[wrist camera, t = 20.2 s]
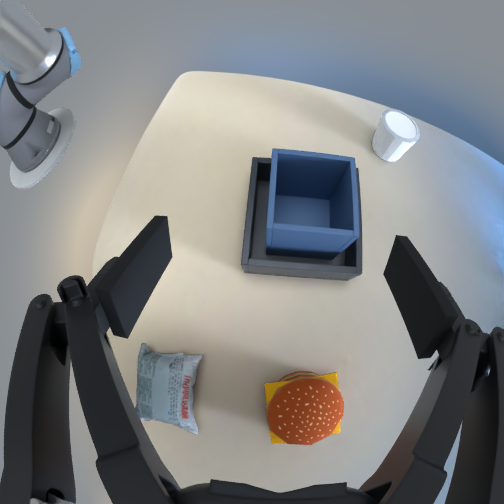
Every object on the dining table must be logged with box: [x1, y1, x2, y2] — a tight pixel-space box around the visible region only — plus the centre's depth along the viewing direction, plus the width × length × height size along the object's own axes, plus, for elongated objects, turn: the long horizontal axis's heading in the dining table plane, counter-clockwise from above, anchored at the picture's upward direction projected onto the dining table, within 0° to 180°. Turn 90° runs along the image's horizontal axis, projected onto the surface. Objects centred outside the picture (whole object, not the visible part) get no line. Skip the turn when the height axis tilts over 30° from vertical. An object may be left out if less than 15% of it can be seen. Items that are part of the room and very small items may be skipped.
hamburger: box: [264, 372, 344, 445], centre depth 29 cm, size 9×10×7 cm
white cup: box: [372, 109, 420, 162], centre depth 37 cm, size 7×7×7 cm
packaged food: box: [135, 343, 203, 435], centre depth 30 cm, size 9×12×5 cm
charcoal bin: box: [241, 157, 362, 281], centre depth 35 cm, size 14×14×6 cm
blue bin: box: [266, 149, 359, 260], centre depth 31 cm, size 9×9×11 cm
